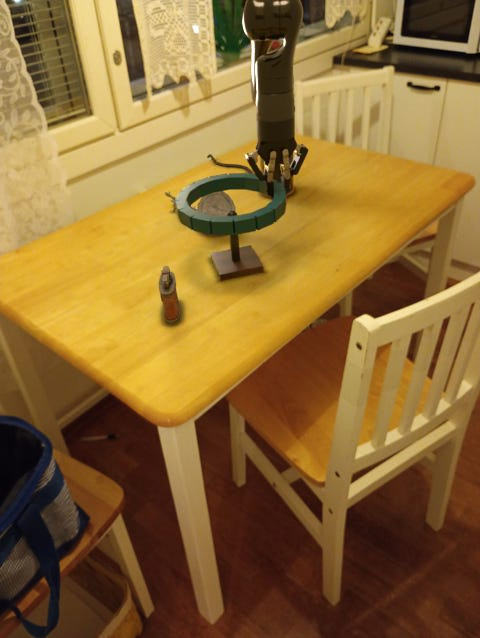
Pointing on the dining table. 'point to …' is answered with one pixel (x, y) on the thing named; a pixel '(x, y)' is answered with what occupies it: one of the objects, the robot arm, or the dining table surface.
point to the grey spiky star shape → (174, 200)
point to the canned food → (216, 205)
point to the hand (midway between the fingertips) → (277, 195)
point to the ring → (229, 223)
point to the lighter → (169, 296)
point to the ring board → (238, 266)
